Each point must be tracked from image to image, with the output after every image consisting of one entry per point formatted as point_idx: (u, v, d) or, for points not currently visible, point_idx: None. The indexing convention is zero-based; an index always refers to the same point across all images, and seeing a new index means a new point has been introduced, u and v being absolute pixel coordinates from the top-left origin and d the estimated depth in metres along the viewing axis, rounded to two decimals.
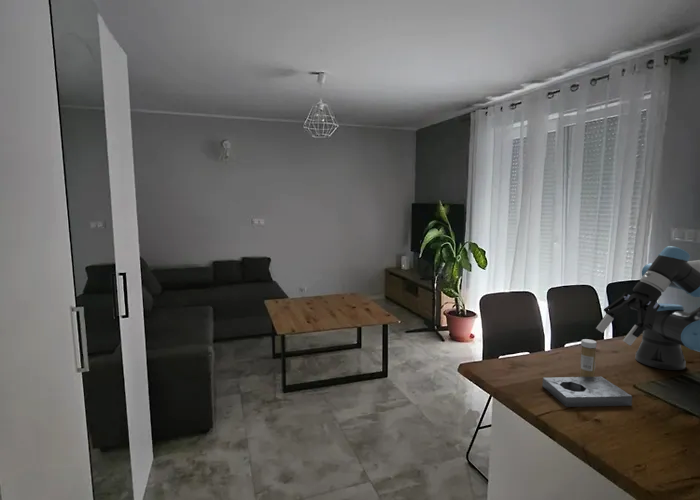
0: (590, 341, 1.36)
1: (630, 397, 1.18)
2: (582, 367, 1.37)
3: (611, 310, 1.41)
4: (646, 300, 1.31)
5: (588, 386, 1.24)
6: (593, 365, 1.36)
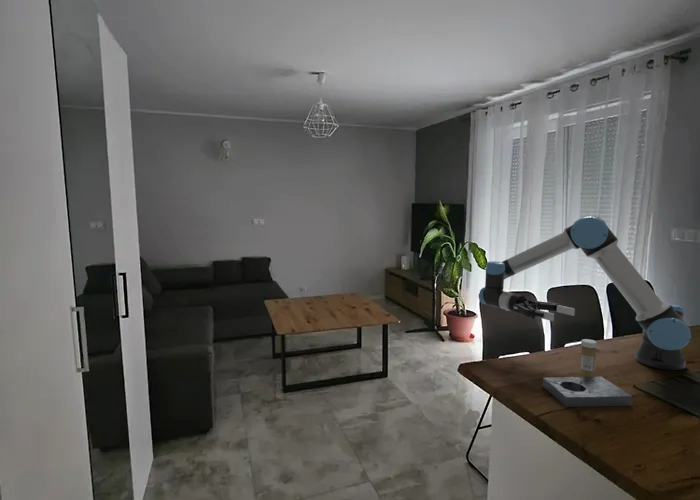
0: (590, 341, 1.36)
1: (630, 397, 1.18)
2: (582, 367, 1.37)
3: None
4: None
5: (588, 386, 1.24)
6: (593, 365, 1.36)
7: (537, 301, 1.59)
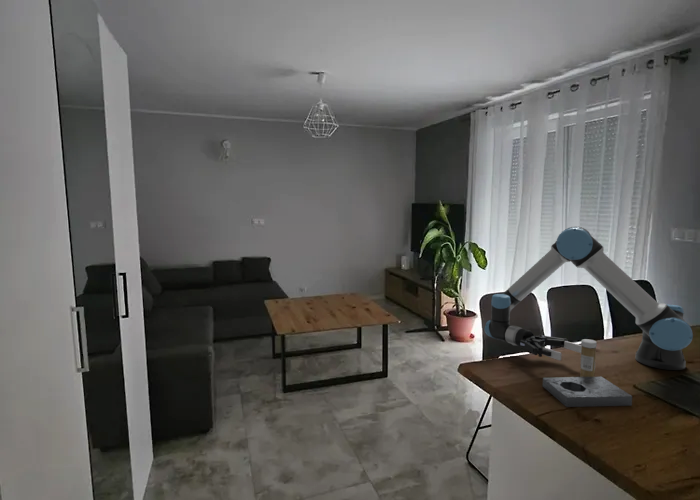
0: (590, 341, 1.36)
1: (630, 397, 1.18)
2: (582, 367, 1.37)
3: None
4: None
5: (588, 386, 1.24)
6: (593, 365, 1.36)
7: (544, 336, 1.57)
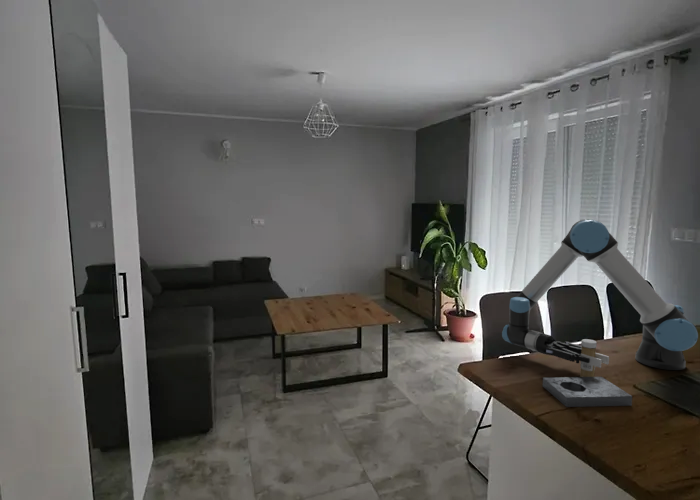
0: (590, 341, 1.36)
1: (630, 397, 1.18)
2: (582, 367, 1.37)
3: None
4: None
5: (588, 386, 1.24)
6: None
7: (568, 343, 1.48)
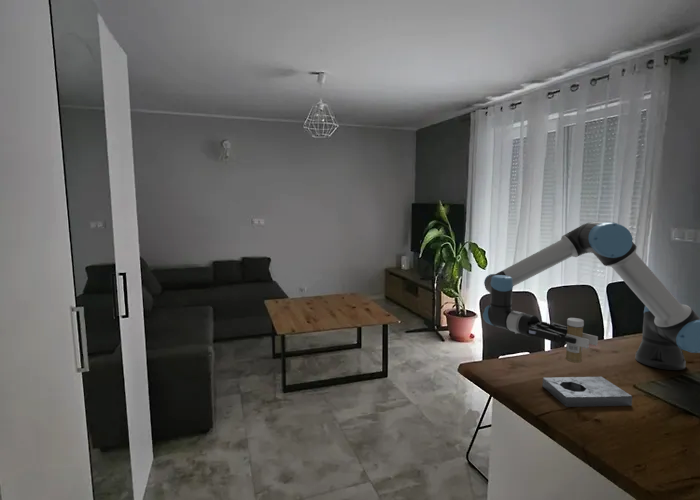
0: (577, 319, 1.22)
1: (630, 397, 1.18)
2: (568, 349, 1.23)
3: None
4: None
5: (588, 386, 1.24)
6: None
7: (554, 323, 1.34)
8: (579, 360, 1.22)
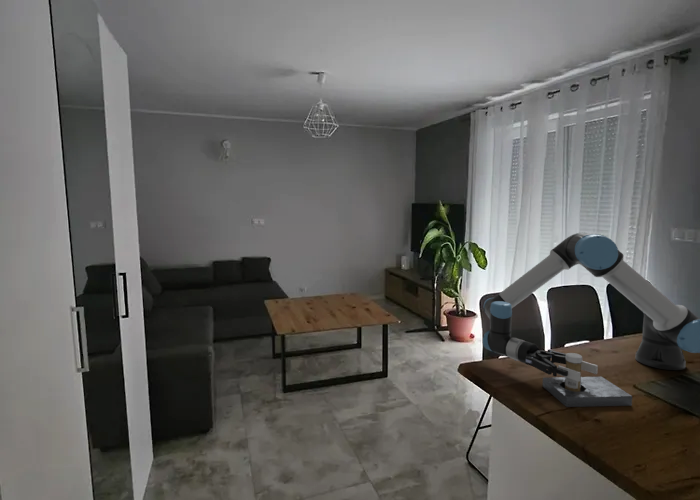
0: (575, 355, 1.23)
1: (630, 397, 1.18)
2: (566, 384, 1.24)
3: None
4: None
5: (588, 386, 1.24)
6: (578, 382, 1.22)
7: (552, 351, 1.36)
8: None
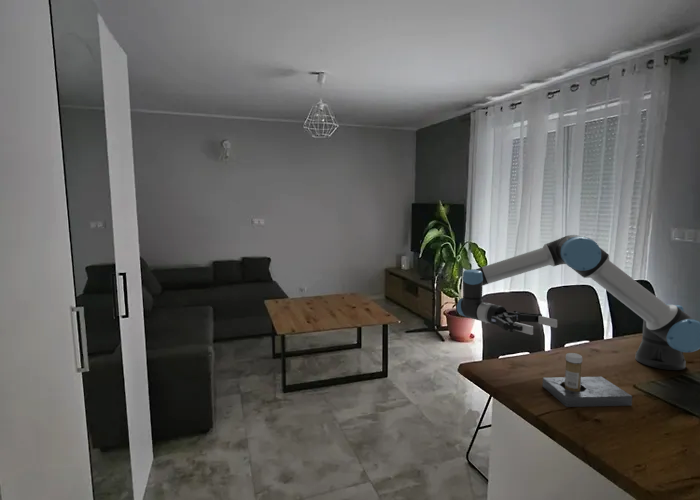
0: (575, 355, 1.23)
1: (630, 397, 1.18)
2: (566, 384, 1.24)
3: None
4: None
5: (588, 386, 1.24)
6: (578, 382, 1.22)
7: (518, 312, 1.47)
8: None
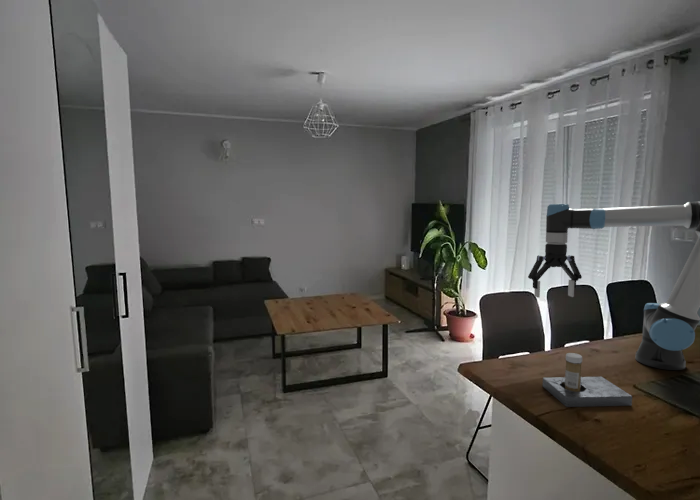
0: (575, 355, 1.23)
1: (630, 397, 1.18)
2: (566, 384, 1.24)
3: None
4: None
5: (588, 386, 1.24)
6: (578, 382, 1.22)
7: (572, 260, 1.53)
8: None
